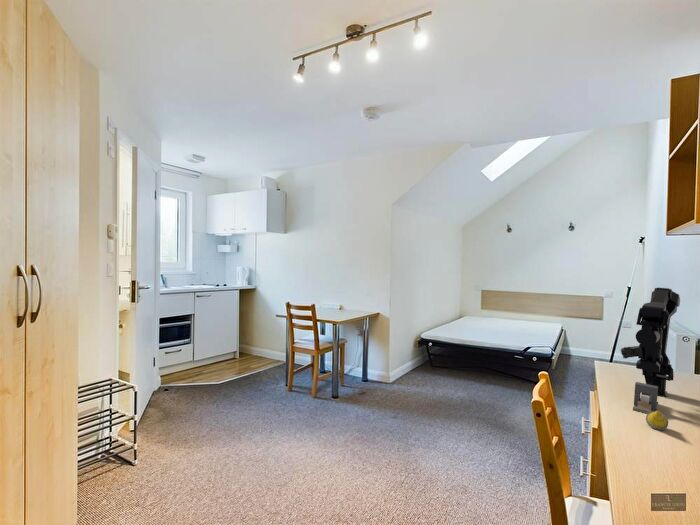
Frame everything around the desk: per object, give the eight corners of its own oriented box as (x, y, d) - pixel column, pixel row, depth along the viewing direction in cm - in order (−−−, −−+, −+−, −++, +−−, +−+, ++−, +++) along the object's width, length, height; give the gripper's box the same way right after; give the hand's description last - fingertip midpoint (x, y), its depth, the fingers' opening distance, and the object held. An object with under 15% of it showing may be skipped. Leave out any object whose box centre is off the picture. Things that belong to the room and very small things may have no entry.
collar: (634, 402, 135) (636, 381, 134) (656, 407, 131) (658, 386, 130) (633, 405, 132) (635, 383, 132) (655, 410, 128) (657, 388, 128)
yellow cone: (671, 431, 117) (675, 416, 111) (653, 436, 118) (655, 422, 112) (659, 414, 121) (661, 400, 115) (641, 419, 122) (642, 405, 116)
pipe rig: (637, 399, 141) (638, 384, 141) (658, 404, 137) (659, 388, 137) (632, 410, 131) (633, 394, 130) (655, 415, 127) (656, 399, 126)
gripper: (626, 333, 148) (624, 373, 149) (619, 341, 134) (616, 385, 135) (664, 338, 141) (661, 380, 141) (660, 348, 127) (657, 394, 127)
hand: (648, 385), depth 136 cm, fingers closed
